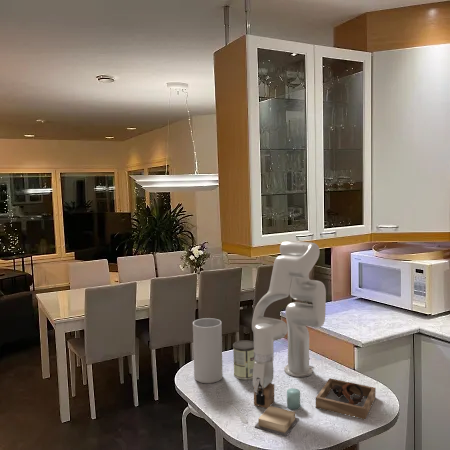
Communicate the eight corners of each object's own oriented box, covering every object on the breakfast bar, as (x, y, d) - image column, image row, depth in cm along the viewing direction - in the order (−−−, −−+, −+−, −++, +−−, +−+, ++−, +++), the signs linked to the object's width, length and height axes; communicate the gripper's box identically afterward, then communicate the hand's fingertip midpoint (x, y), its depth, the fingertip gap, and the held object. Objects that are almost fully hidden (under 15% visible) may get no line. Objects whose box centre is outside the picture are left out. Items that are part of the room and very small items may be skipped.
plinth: (268, 411, 167) (268, 403, 166) (298, 419, 161) (298, 411, 160) (254, 427, 156) (254, 419, 156) (286, 436, 150) (286, 428, 150)
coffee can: (238, 368, 205) (238, 338, 204) (259, 371, 201) (259, 341, 199) (229, 377, 196) (229, 346, 194) (251, 381, 191) (251, 350, 190)
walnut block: (260, 398, 177) (260, 381, 176) (274, 401, 174) (274, 384, 173) (253, 404, 172) (253, 387, 171) (268, 408, 169) (268, 390, 168)
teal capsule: (290, 401, 174) (289, 387, 173) (302, 404, 171) (302, 389, 170) (285, 407, 169) (284, 392, 169) (297, 410, 167) (297, 395, 166)
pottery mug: (359, 396, 178) (365, 383, 173) (358, 416, 171) (365, 404, 166) (329, 386, 180) (335, 374, 175) (327, 406, 172) (333, 394, 168)
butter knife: (241, 423, 158) (249, 421, 160) (215, 391, 183) (222, 389, 185) (241, 425, 159) (249, 422, 160) (215, 392, 184) (222, 391, 185)
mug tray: (329, 387, 185) (329, 378, 184) (375, 397, 176) (375, 387, 175) (315, 407, 169) (315, 397, 168) (365, 419, 160) (365, 409, 159)
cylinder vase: (201, 369, 204) (200, 316, 201) (226, 373, 199) (225, 319, 197) (189, 381, 193) (187, 325, 190) (215, 386, 188) (214, 328, 185)
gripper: (264, 346, 180) (264, 389, 182) (244, 362, 165) (245, 408, 167) (281, 350, 177) (281, 393, 178) (263, 366, 162) (263, 413, 164)
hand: (264, 400), depth 173 cm, fingers closed on walnut block, 6 cm apart
